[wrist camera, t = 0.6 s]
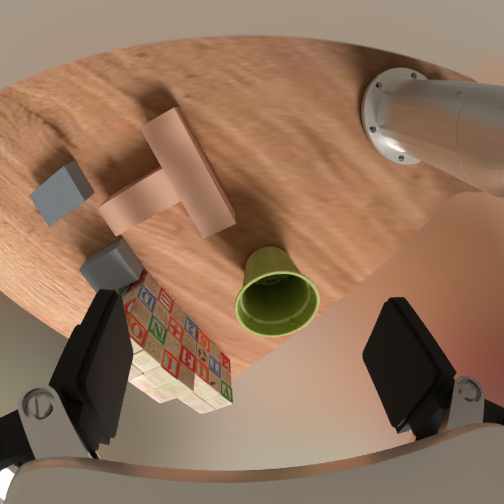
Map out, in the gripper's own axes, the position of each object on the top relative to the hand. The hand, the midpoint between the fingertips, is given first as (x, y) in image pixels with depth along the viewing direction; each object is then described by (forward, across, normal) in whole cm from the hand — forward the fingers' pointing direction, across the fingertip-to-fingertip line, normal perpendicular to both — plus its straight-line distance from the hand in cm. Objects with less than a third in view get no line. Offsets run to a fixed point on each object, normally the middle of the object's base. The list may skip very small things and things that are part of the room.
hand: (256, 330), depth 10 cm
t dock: (+27, +19, +9) cm, 34 cm away
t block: (+27, +9, +3) cm, 28 cm away
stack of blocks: (+27, +7, +25) cm, 38 cm away
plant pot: (+27, -6, +13) cm, 30 cm away
